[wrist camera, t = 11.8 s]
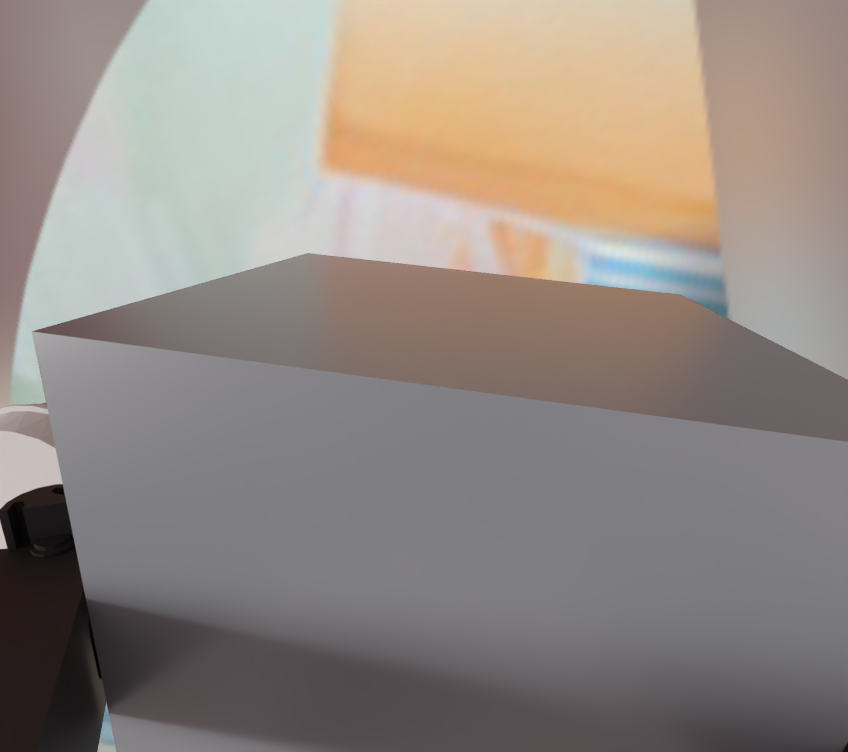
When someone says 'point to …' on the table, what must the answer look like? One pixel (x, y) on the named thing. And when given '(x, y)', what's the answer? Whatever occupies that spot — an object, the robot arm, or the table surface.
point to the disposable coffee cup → (25, 453)
